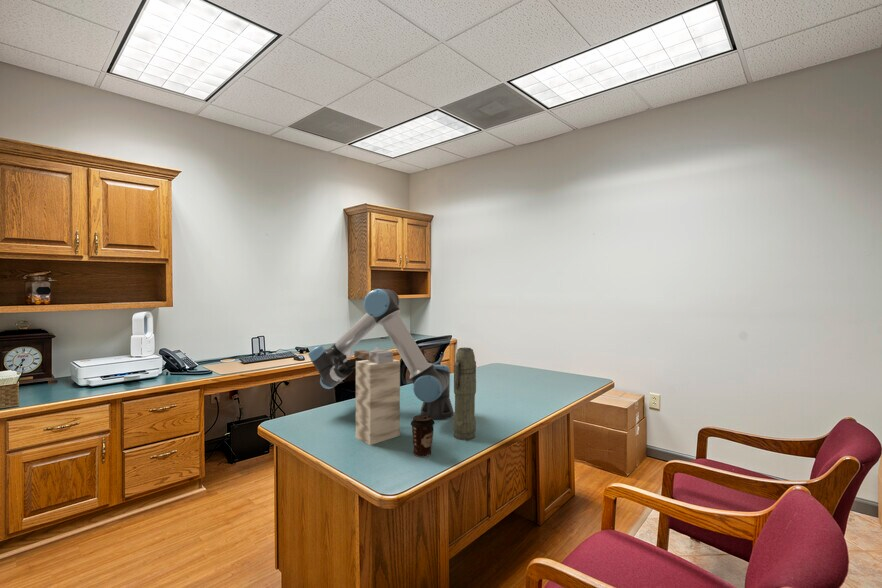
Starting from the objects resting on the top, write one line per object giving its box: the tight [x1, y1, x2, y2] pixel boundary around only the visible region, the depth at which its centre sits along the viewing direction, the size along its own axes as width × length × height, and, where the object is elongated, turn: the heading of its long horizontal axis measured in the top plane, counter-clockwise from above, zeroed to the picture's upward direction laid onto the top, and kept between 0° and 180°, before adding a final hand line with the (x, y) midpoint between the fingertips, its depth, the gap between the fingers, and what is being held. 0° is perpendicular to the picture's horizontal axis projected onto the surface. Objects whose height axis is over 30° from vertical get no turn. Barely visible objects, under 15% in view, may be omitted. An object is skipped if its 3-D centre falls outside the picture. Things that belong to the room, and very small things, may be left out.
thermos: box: [452, 347, 477, 441], centre depth 163 cm, size 9×12×35 cm
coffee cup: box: [410, 414, 436, 458], centre depth 146 cm, size 9×8×13 cm
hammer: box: [353, 349, 394, 364], centre depth 165 cm, size 19×7×4 cm, turn 44°
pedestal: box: [354, 358, 401, 446], centre depth 162 cm, size 10×14×30 cm
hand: (365, 351), depth 168 cm, fingers open, 13 cm apart
